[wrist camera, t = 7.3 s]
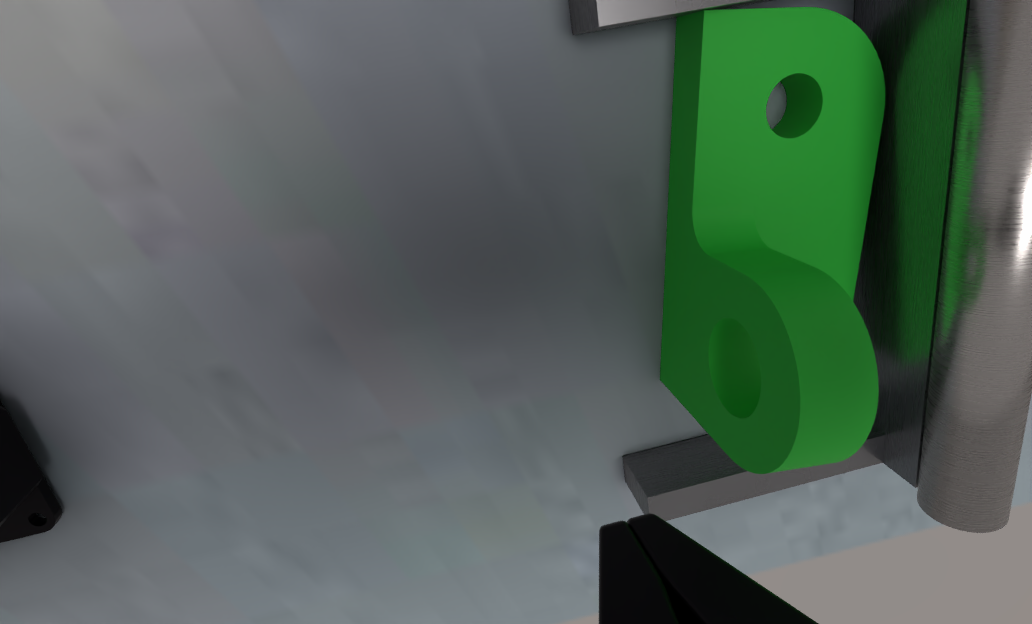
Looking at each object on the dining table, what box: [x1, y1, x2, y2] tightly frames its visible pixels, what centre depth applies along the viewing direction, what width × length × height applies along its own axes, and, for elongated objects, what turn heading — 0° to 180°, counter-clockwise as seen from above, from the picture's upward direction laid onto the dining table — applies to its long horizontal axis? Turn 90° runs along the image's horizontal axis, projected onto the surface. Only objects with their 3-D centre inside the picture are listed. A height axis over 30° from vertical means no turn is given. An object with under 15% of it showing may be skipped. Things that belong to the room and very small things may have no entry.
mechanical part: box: [660, 7, 885, 474], centre depth 17 cm, size 12×6×8 cm, turn 3°
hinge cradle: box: [569, 0, 1032, 533], centre depth 18 cm, size 15×17×6 cm
